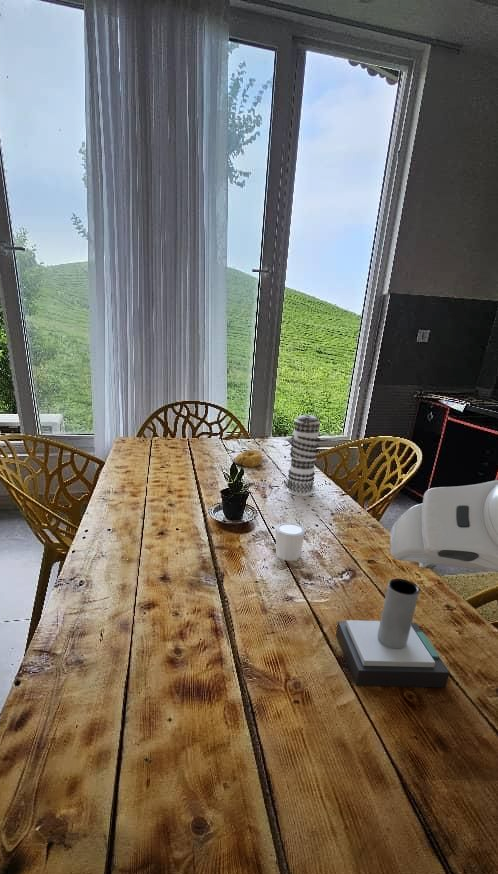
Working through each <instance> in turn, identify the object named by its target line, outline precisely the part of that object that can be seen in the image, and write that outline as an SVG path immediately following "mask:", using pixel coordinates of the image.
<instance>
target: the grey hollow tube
mask: <svg viewBox="0 0 498 874" xmlns="http://www.w3.org/2000/svg"><path fill="white" fill-rule="evenodd" d="M419 595H420V588H419V586H418V585H417V584H416V583H414V582H412V581H411V580H407V579H403V578H392V579H390V580H389V581H388V582H387V587H386V592H385V597H384V602H383V606H382V611H381V615H380V620H379V621H380V625H379V629H378V635H377V637H378V640H379V641H380V642H381V643H382V644H383V645H385V646H387V647H389V648H393V649H401V648H404V647H405V646H406V644H407V640H408V636H409V632H410V628H411V624H412V623H413V619H414V614H415V611H416V607H417V603H418V599H419Z"/></svg>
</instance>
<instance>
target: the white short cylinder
mask: <svg viewBox="0 0 498 874" xmlns="http://www.w3.org/2000/svg"><path fill="white" fill-rule="evenodd" d="M305 535H306V529H305V528H304V527H303V526H302V525H301V524H297V523H293V522H292V523H291V522H282V523H280V524H277V525H276V526H275V555H276V557H277V558H278V559H280V560H283V561H285V562H287V561H288V562H294V561H298V560H299V559H300V556H301V551H302V549H303V544H304V538H305Z"/></svg>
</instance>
